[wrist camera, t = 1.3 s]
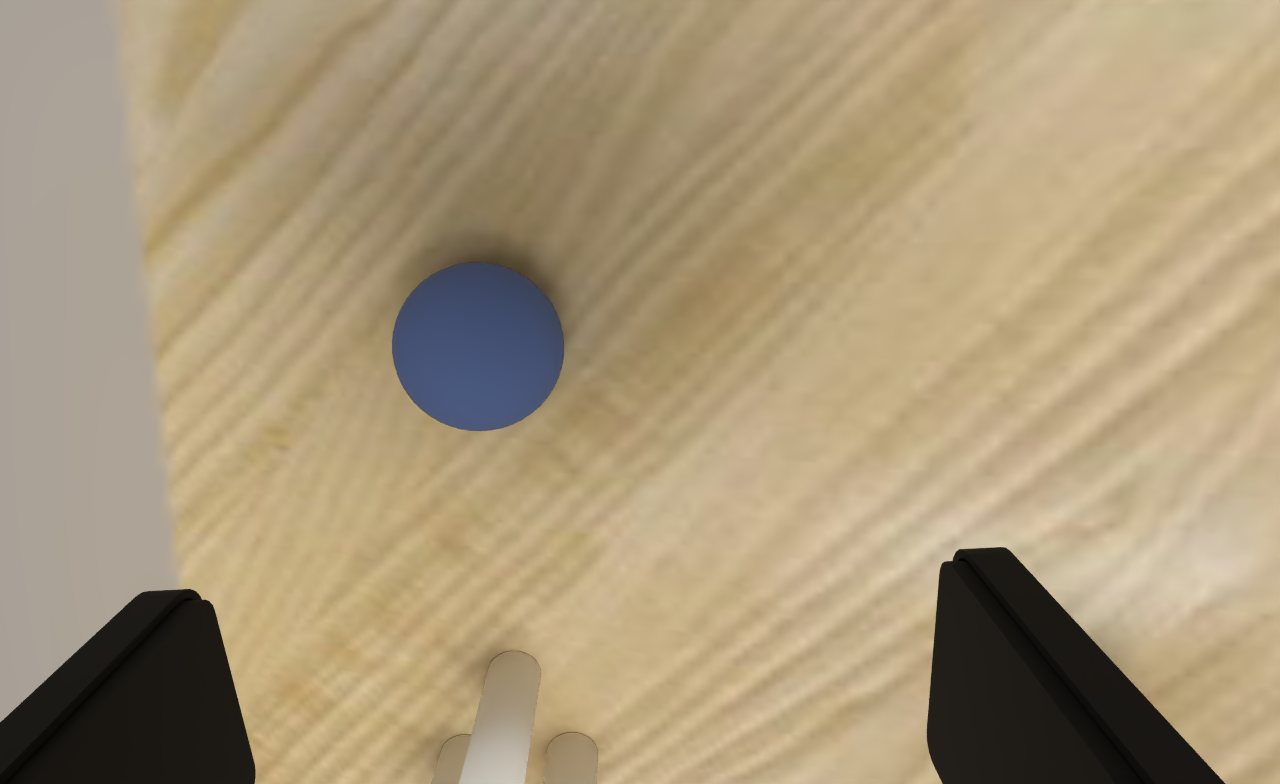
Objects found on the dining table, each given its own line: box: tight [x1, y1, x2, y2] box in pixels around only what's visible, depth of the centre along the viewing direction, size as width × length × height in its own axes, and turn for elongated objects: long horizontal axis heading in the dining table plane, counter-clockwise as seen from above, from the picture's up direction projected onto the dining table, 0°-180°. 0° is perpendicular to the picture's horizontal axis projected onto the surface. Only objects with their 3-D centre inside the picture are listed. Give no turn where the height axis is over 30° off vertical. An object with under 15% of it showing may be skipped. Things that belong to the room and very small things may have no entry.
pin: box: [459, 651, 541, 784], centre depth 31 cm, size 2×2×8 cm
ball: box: [392, 262, 564, 431], centre depth 28 cm, size 6×6×6 cm
